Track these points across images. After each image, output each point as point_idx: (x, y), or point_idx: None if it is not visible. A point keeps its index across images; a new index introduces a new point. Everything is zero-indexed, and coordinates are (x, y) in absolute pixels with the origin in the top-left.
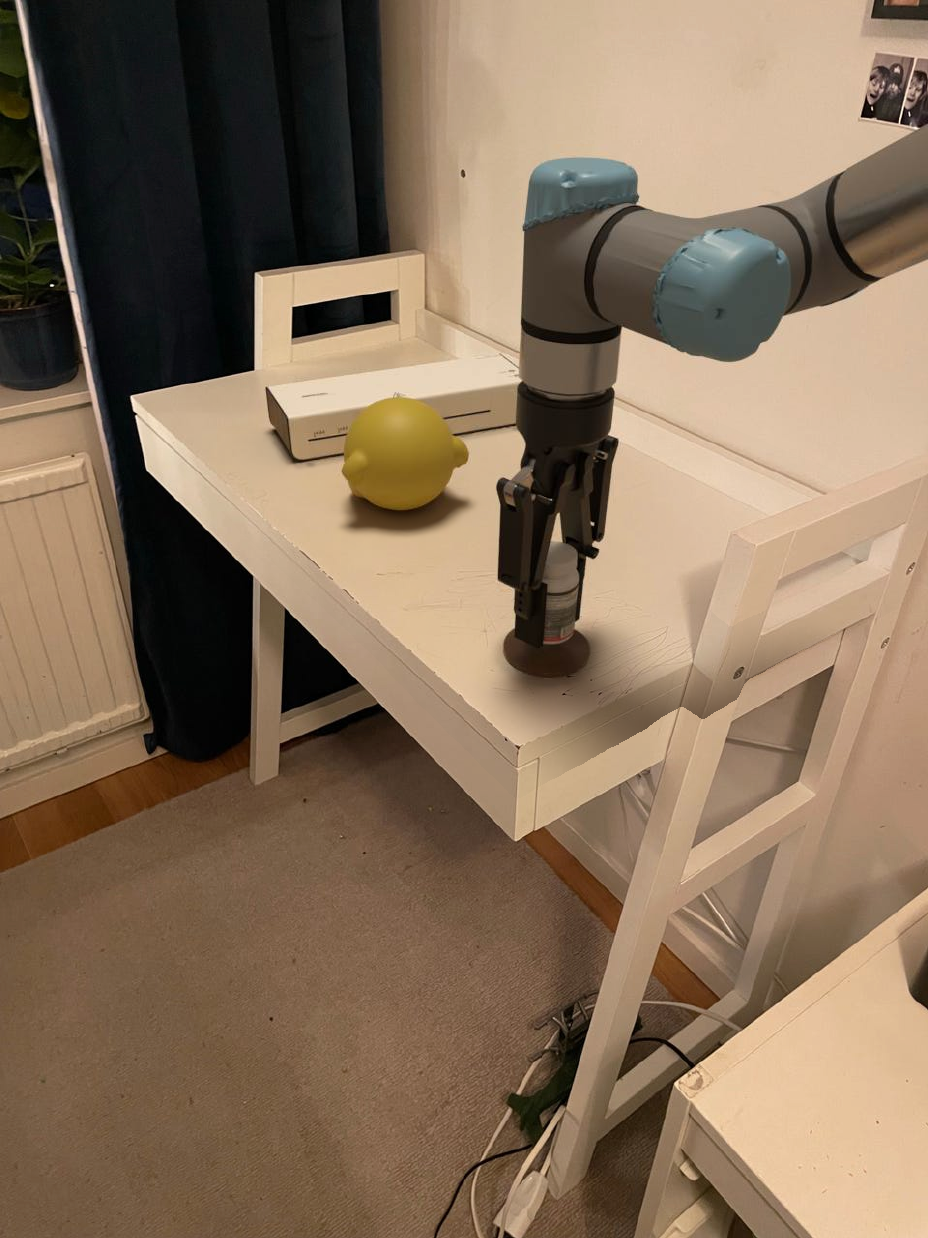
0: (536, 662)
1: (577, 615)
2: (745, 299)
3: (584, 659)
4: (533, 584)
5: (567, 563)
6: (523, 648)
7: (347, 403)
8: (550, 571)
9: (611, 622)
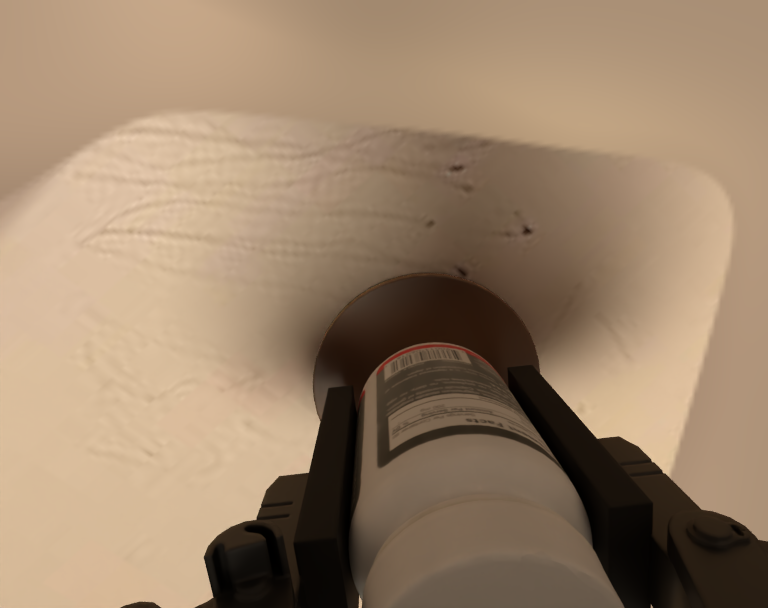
0: (498, 356)
1: (338, 395)
2: None
3: (395, 284)
4: (755, 537)
5: (540, 556)
6: None
7: None
8: (599, 564)
9: (199, 356)
